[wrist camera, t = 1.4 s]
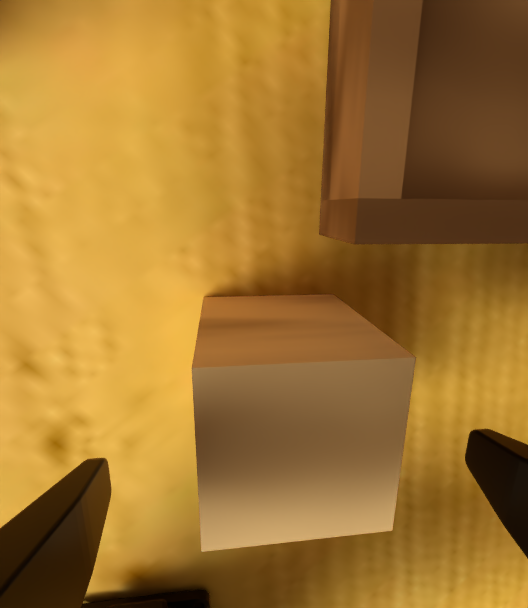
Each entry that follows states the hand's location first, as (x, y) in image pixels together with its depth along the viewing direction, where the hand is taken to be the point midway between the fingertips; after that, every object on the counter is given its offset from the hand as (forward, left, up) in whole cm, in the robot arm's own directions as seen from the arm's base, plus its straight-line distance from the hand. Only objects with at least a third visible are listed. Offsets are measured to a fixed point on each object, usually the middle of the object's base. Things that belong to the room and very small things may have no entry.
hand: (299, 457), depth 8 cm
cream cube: (0, 0, -6) cm, 6 cm away
